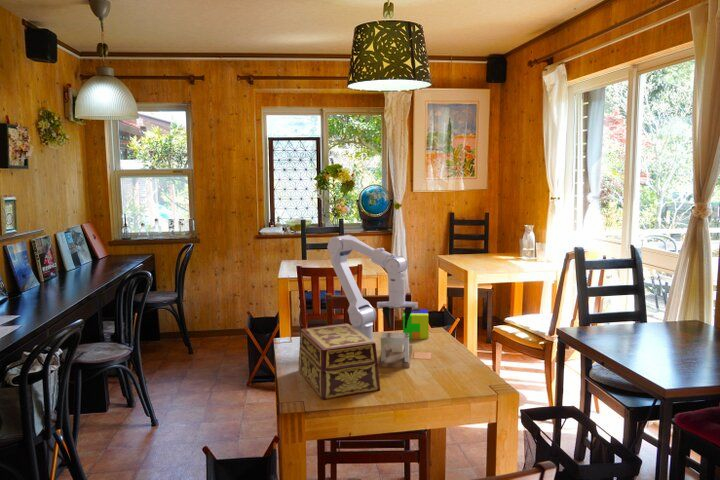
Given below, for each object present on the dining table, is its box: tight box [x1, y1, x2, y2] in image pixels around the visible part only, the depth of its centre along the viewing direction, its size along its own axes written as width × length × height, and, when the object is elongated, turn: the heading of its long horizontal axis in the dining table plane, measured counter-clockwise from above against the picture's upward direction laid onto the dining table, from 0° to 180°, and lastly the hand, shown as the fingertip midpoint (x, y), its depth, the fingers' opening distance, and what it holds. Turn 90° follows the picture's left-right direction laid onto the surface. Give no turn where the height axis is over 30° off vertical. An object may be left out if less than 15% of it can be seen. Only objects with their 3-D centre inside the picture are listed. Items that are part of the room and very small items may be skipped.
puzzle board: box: [379, 344, 413, 369], centre depth 197 cm, size 10×20×2 cm, turn 172°
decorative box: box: [298, 323, 381, 401], centre depth 178 cm, size 28×19×15 cm
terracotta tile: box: [413, 351, 432, 360], centre depth 199 cm, size 6×7×1 cm
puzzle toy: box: [402, 308, 430, 340], centre depth 225 cm, size 10×10×10 cm
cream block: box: [392, 345, 404, 352], centre depth 201 cm, size 4×4×7 cm
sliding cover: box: [380, 332, 410, 362], centre depth 191 cm, size 9×6×8 cm, turn 82°
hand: (397, 327), depth 200 cm, fingers open, 5 cm apart
